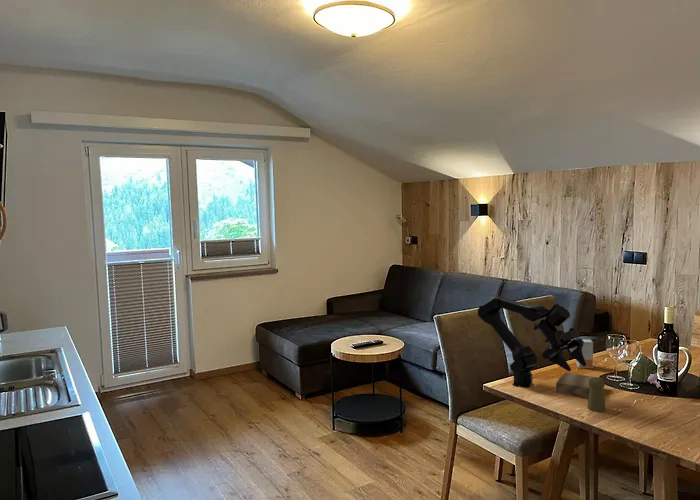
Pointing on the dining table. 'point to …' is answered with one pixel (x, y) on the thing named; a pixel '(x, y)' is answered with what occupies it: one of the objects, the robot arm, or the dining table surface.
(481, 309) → the robot arm
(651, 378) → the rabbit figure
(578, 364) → the skincare box
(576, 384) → the walnut plinth
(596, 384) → the cork
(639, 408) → the dining table surface
